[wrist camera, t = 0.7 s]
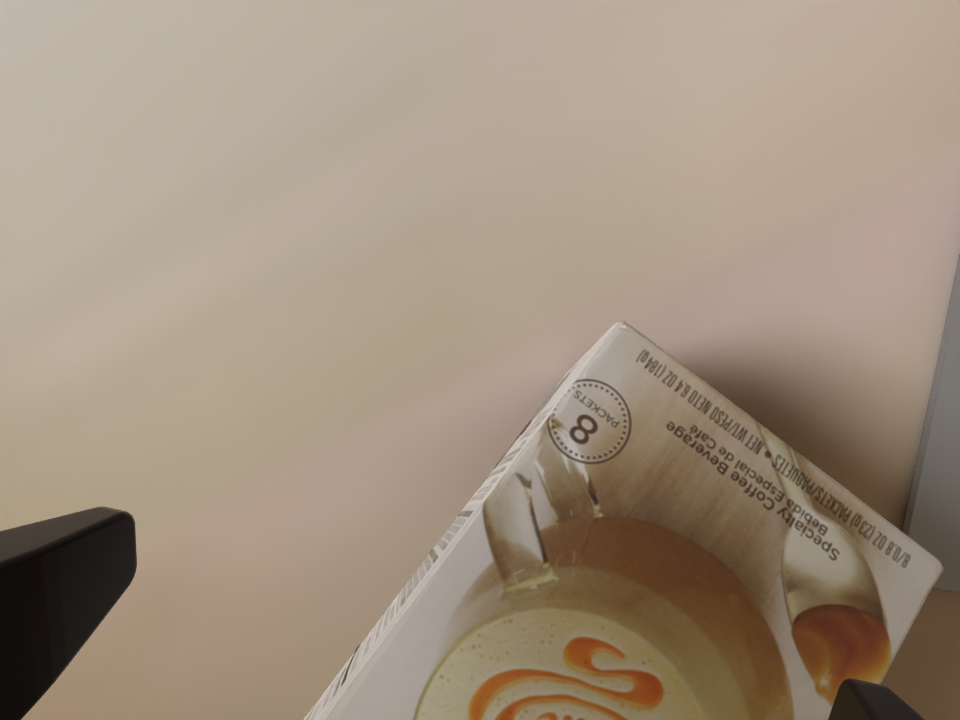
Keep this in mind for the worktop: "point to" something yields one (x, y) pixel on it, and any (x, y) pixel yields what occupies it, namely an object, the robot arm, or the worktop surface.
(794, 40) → the worktop surface
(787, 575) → the coffee box
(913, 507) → the mat
